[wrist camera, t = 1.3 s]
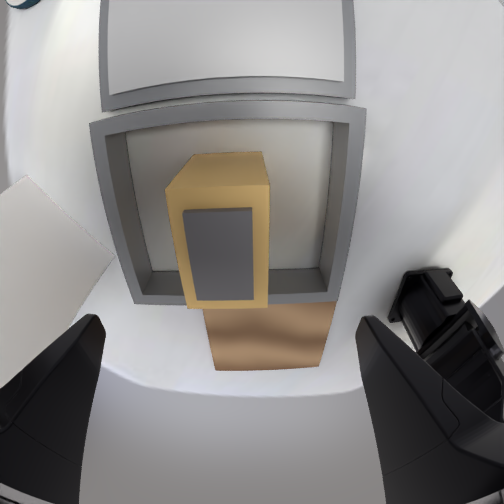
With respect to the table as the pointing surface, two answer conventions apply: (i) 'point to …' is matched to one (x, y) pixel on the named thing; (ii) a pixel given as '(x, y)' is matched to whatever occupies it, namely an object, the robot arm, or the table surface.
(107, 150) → the equipment case
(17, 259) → the milk
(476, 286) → the table surface
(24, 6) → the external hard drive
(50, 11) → the table surface
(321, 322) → the walnut board
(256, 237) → the ochre module
